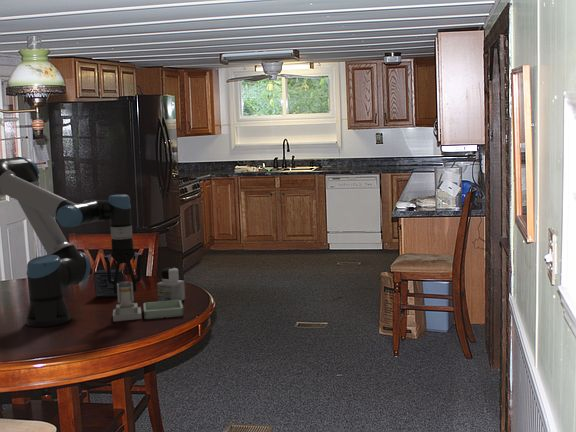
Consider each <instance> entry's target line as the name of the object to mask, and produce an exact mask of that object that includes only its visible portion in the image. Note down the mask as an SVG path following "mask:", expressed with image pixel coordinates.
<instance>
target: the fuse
mask: <svg viewBox="0 0 576 432" xmlns="http://www.w3.org/2000/svg"><path fill="white" fill-rule="evenodd" d="M131 282H132V281H128V280H127V281H126V280H125V281H124V280H123V282H119V291H120V302H119V304H120V305H121V306H120V308H129V307H132V303H133V301H132V299H131Z"/></svg>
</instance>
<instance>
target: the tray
mask: <svg viewBox="0 0 576 432" xmlns="http://www.w3.org/2000/svg"><path fill="white" fill-rule="evenodd" d="M142 306H143V316H144V320H152V319H153V320H154V319H164V317H165V318H172V317H173V318H175V317H184V316H185V311H184V305H183V302H182V301H181V300H170V301H159V302H158V301H149V302H143V305H142Z"/></svg>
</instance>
